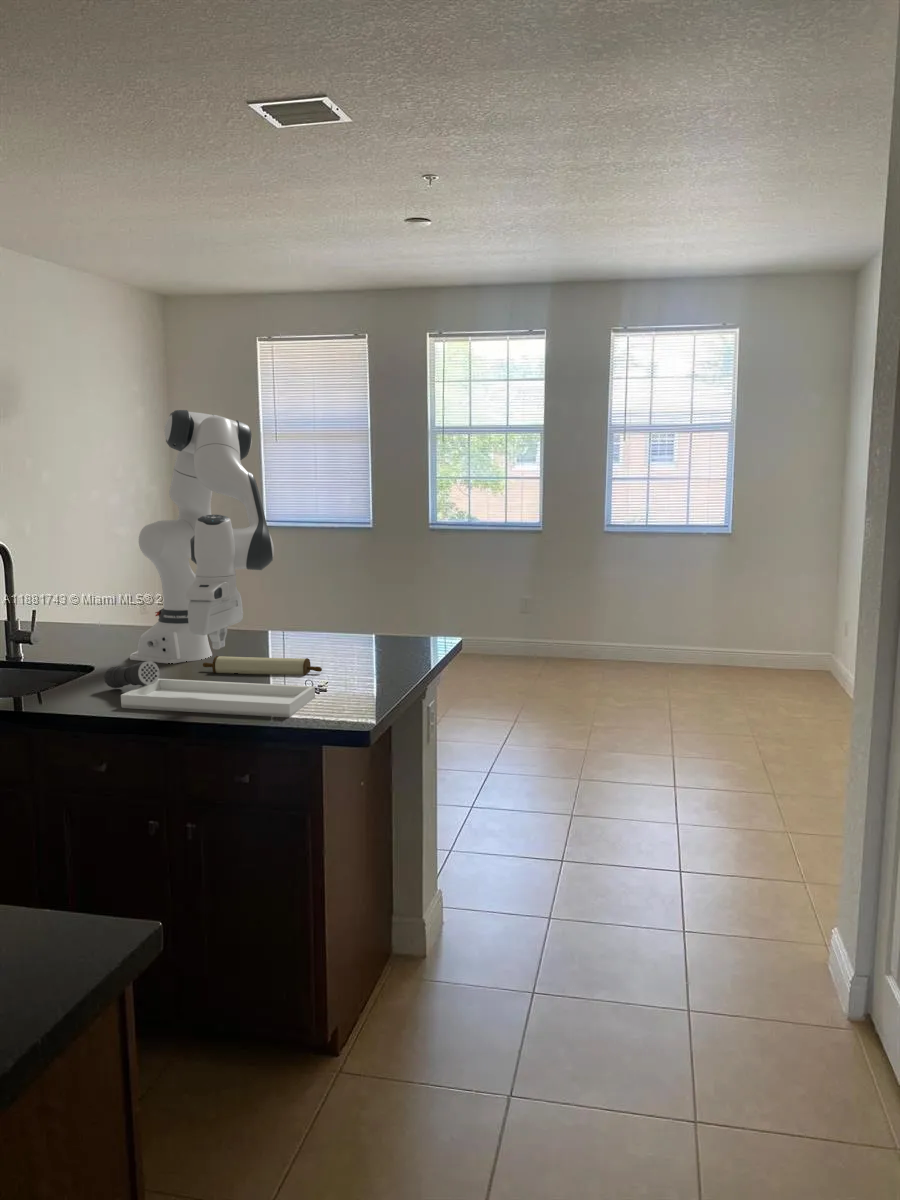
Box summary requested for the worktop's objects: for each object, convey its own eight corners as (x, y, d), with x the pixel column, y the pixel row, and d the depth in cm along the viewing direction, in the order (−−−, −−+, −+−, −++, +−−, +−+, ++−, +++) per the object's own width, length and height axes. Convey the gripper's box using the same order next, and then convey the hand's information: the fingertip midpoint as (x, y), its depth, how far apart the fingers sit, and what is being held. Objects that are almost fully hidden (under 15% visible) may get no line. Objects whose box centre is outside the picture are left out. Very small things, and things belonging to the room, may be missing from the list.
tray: (121, 707, 196) (120, 694, 196) (158, 690, 212) (157, 678, 211) (289, 717, 188) (289, 704, 188) (315, 698, 204) (314, 686, 204)
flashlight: (97, 678, 210) (111, 661, 213) (113, 693, 212) (126, 676, 216) (135, 673, 200) (148, 656, 204) (150, 689, 203) (163, 671, 207)
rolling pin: (198, 676, 228) (198, 657, 227) (207, 671, 233) (206, 653, 232) (319, 680, 224) (318, 661, 223) (324, 675, 229) (324, 656, 228)
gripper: (223, 581, 207) (225, 639, 209) (181, 593, 187) (184, 656, 189) (248, 582, 206) (250, 640, 208) (208, 594, 186) (211, 657, 188)
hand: (218, 648), depth 198 cm, fingers closed
